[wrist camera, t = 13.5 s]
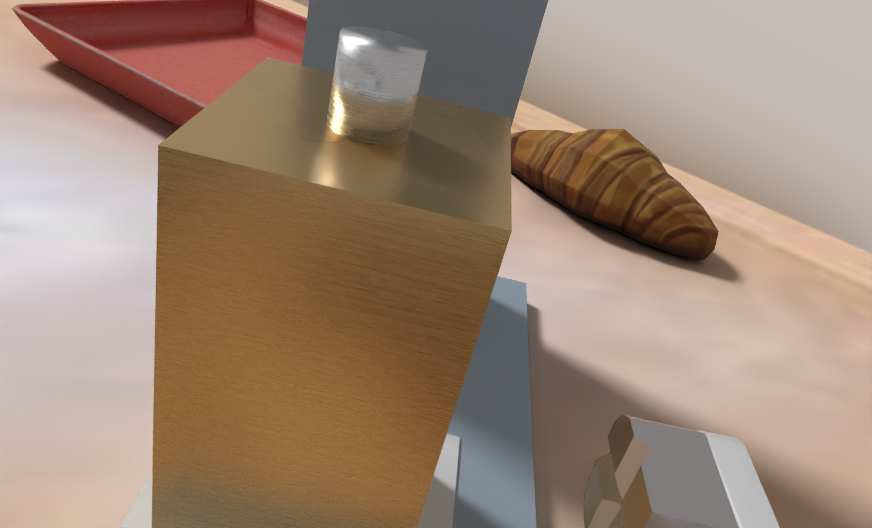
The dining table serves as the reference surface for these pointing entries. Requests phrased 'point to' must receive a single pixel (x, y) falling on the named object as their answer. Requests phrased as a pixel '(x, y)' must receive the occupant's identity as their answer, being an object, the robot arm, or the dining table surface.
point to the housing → (320, 290)
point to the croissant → (615, 187)
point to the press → (507, 309)
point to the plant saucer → (166, 46)
